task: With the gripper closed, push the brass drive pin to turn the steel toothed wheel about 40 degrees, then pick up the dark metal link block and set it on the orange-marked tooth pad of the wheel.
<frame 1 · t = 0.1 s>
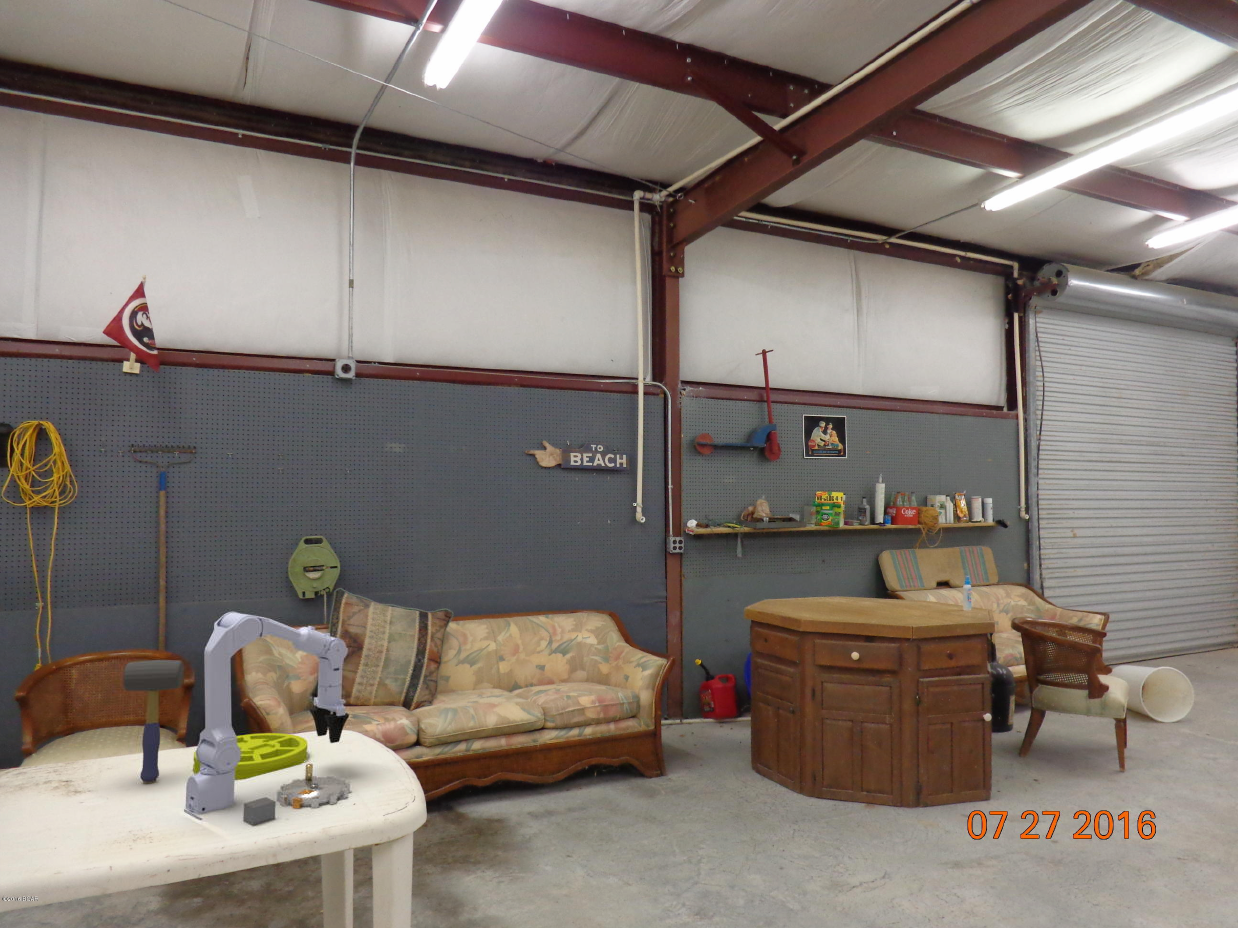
hand: (328, 738, 206), 10 cm above the table, tool pointing down, fingers open, 7 cm apart
link block: (258, 825, 176), on the table
rubber mallet: (149, 782, 201), on the table
wheel: (314, 783, 191), point 4 cm above the table, hinge at 0.0°
pulley: (251, 764, 218), on the table
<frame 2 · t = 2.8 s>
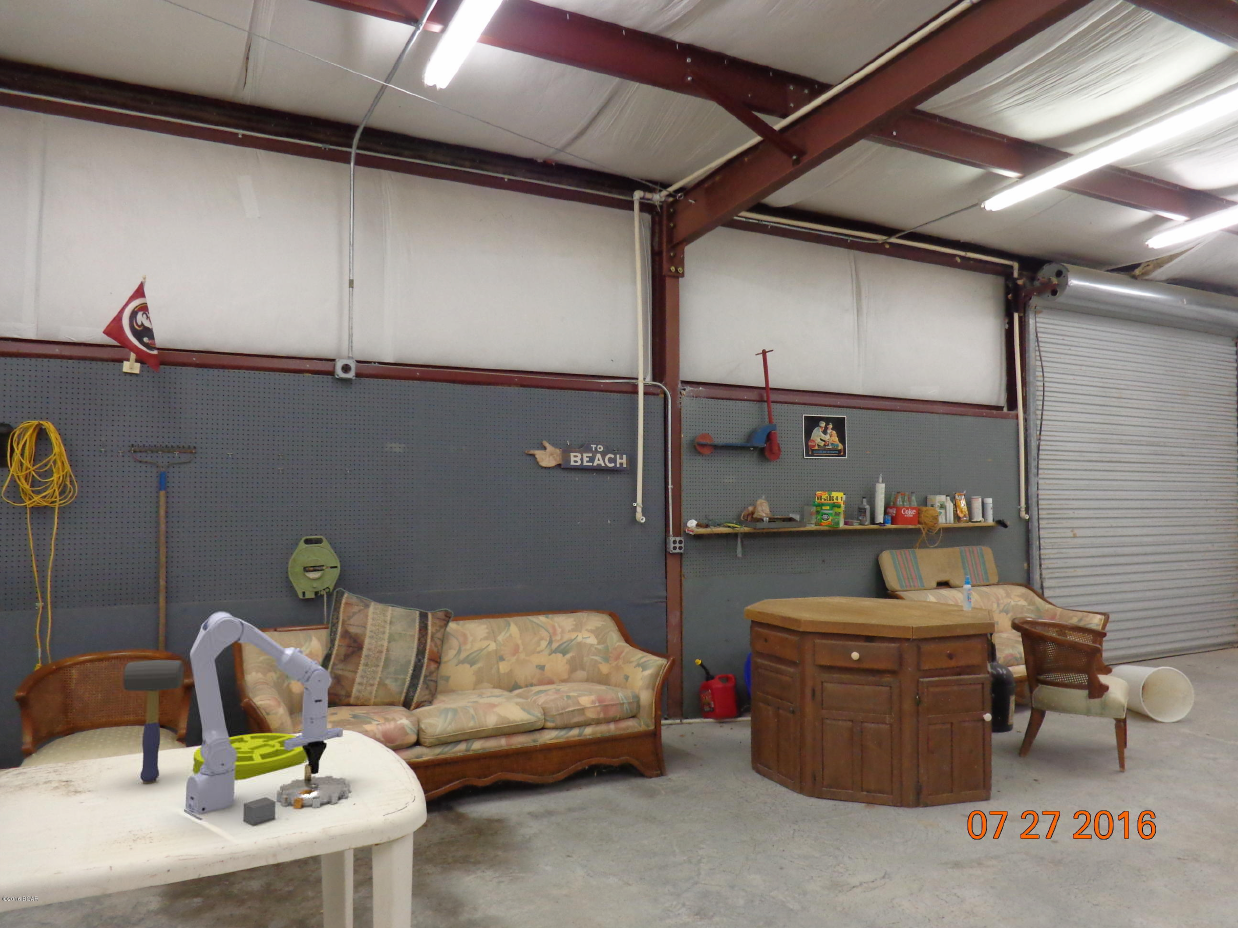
hand: (313, 772, 197), 4 cm above the table, tool pointing down, fingers closed, pressing on wheel
wheel: (314, 783, 191), point 4 cm above the table, hinge at 2.2°, touching gripper
everything else where it was.
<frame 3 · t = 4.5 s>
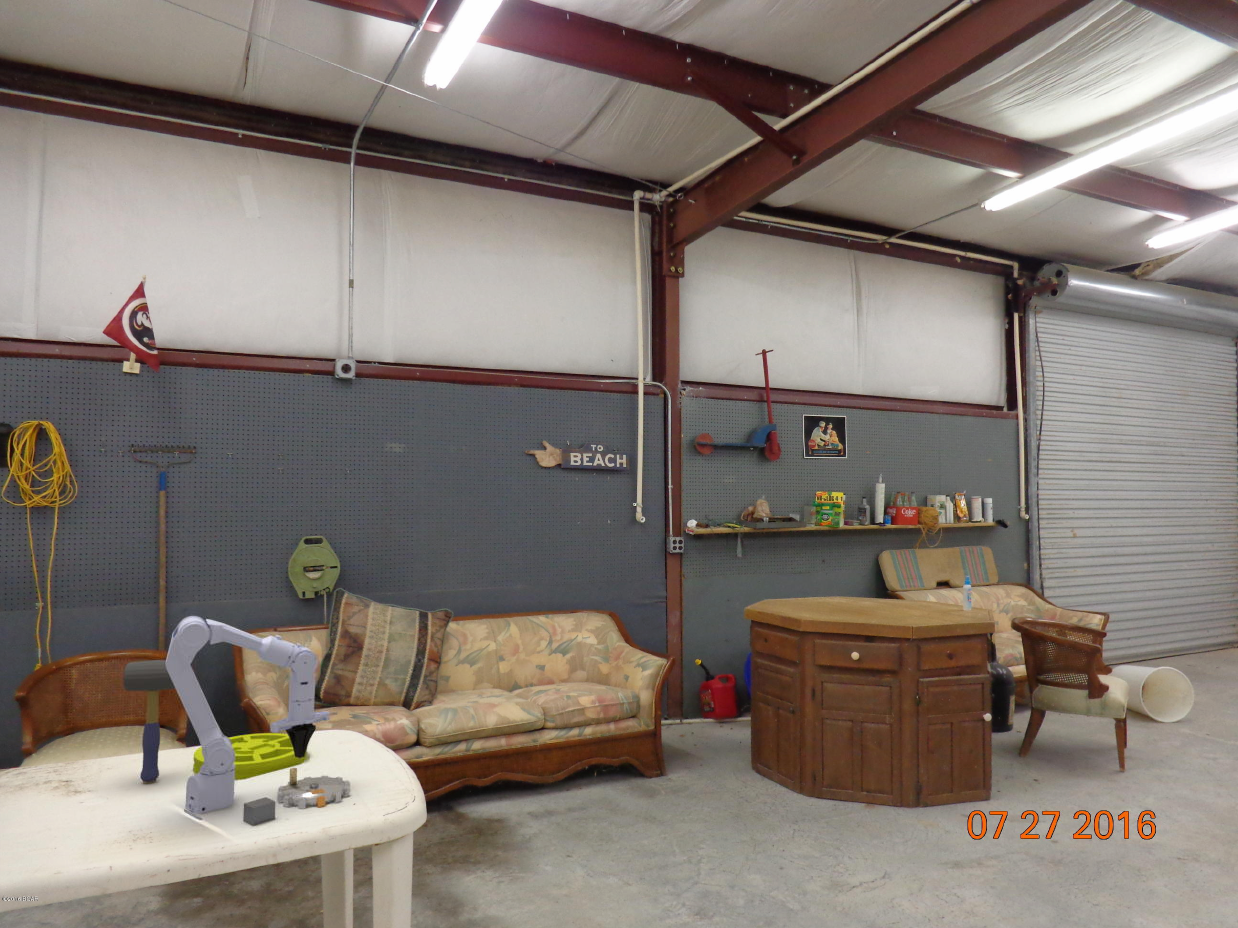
hand: (299, 756, 194), 9 cm above the table, tool pointing down, fingers closed
wheel: (314, 783, 191), point 4 cm above the table, hinge at 39.9°
everything else where it was.
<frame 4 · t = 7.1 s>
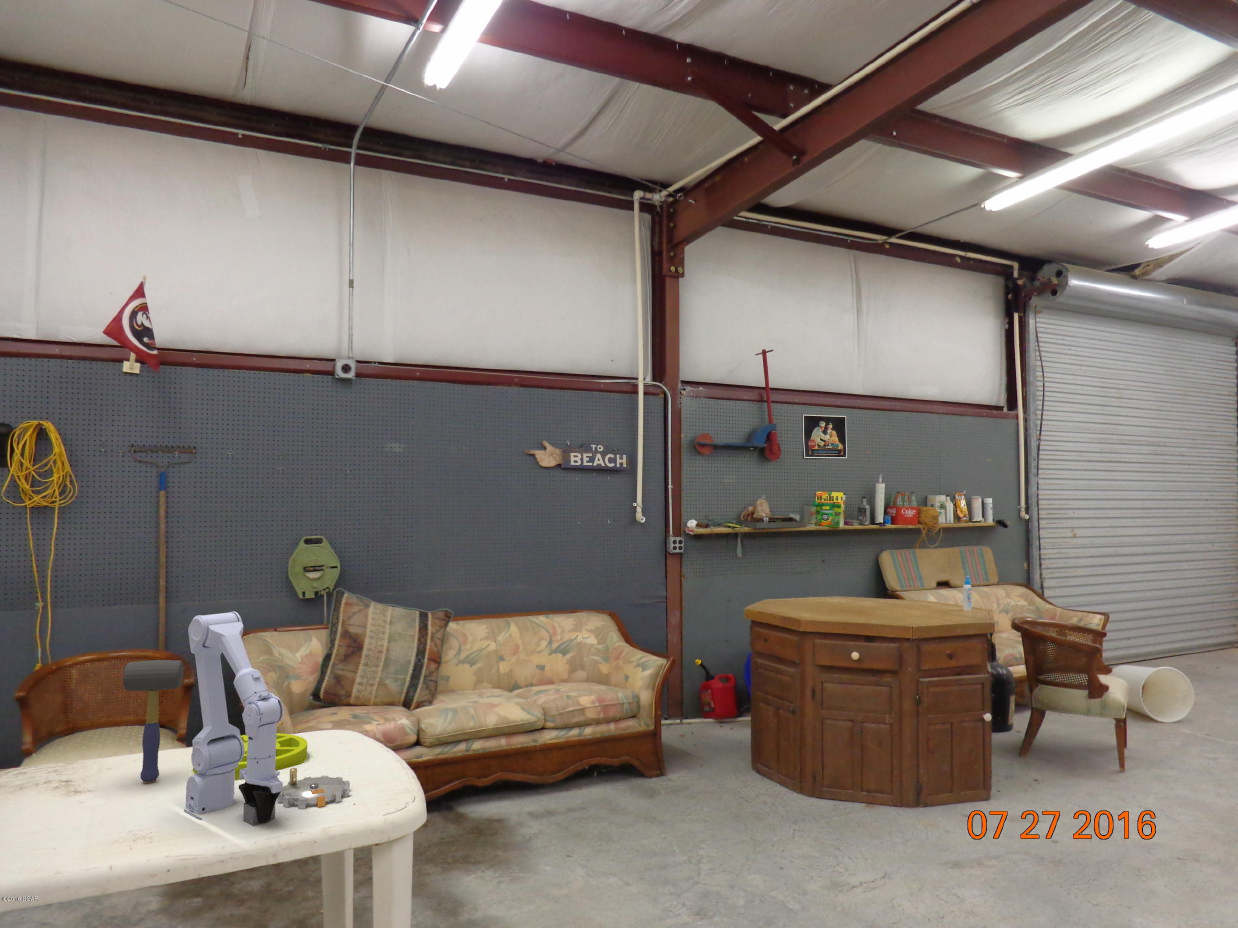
hand: (259, 818, 176), 1 cm above the table, tool pointing down, fingers closed on link block, 4 cm apart
link block: (258, 825, 176), on the table, touching gripper
everything else where it was.
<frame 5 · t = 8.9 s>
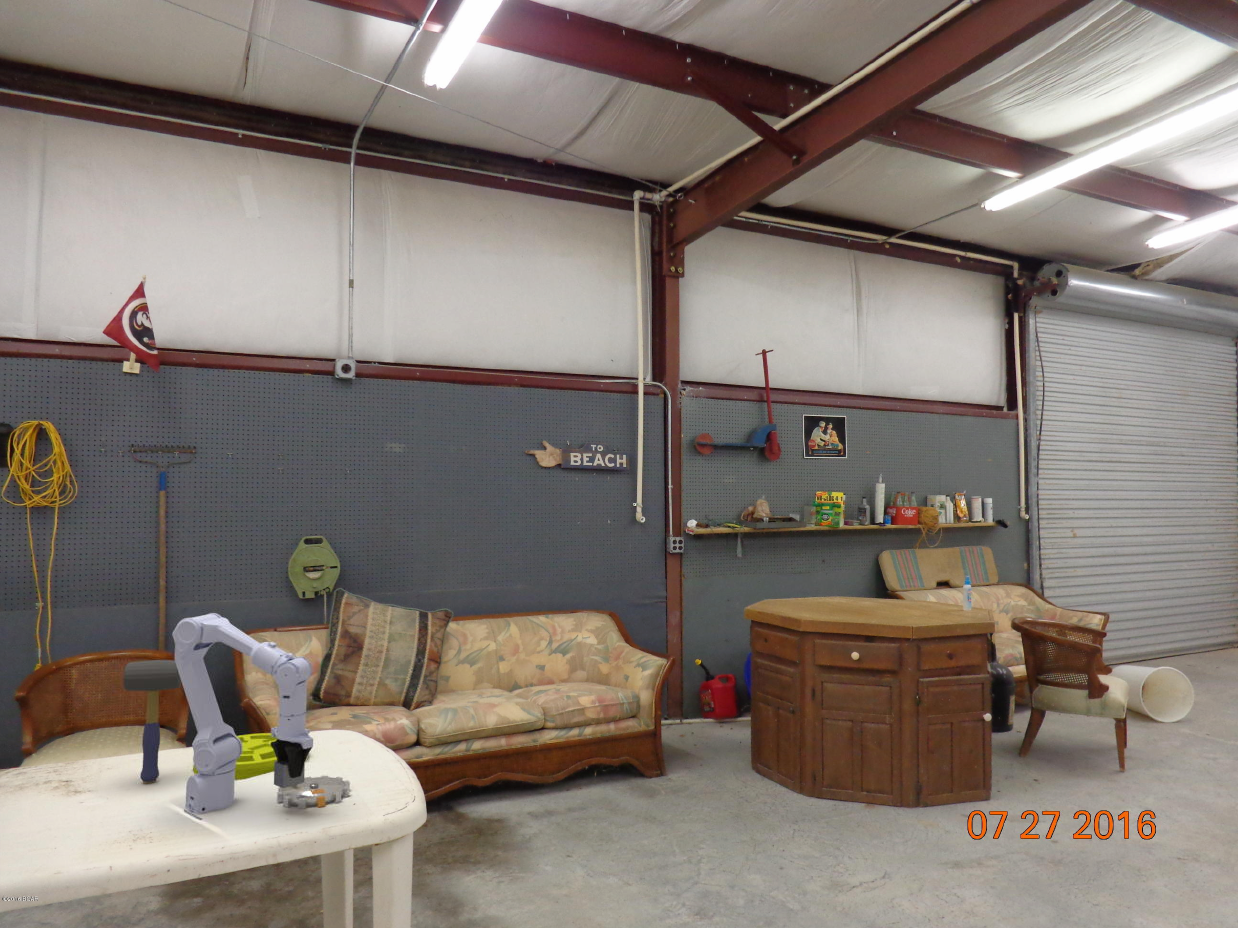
hand: (290, 774, 182), 9 cm above the table, tool pointing down, fingers closed on link block, 4 cm apart
link block: (289, 783, 182), point 7 cm above the table, touching gripper
everything else where it was.
when the fingers open (6 cm above the table, at t = 10.4 s): link block stays where it is, resting on wheel.
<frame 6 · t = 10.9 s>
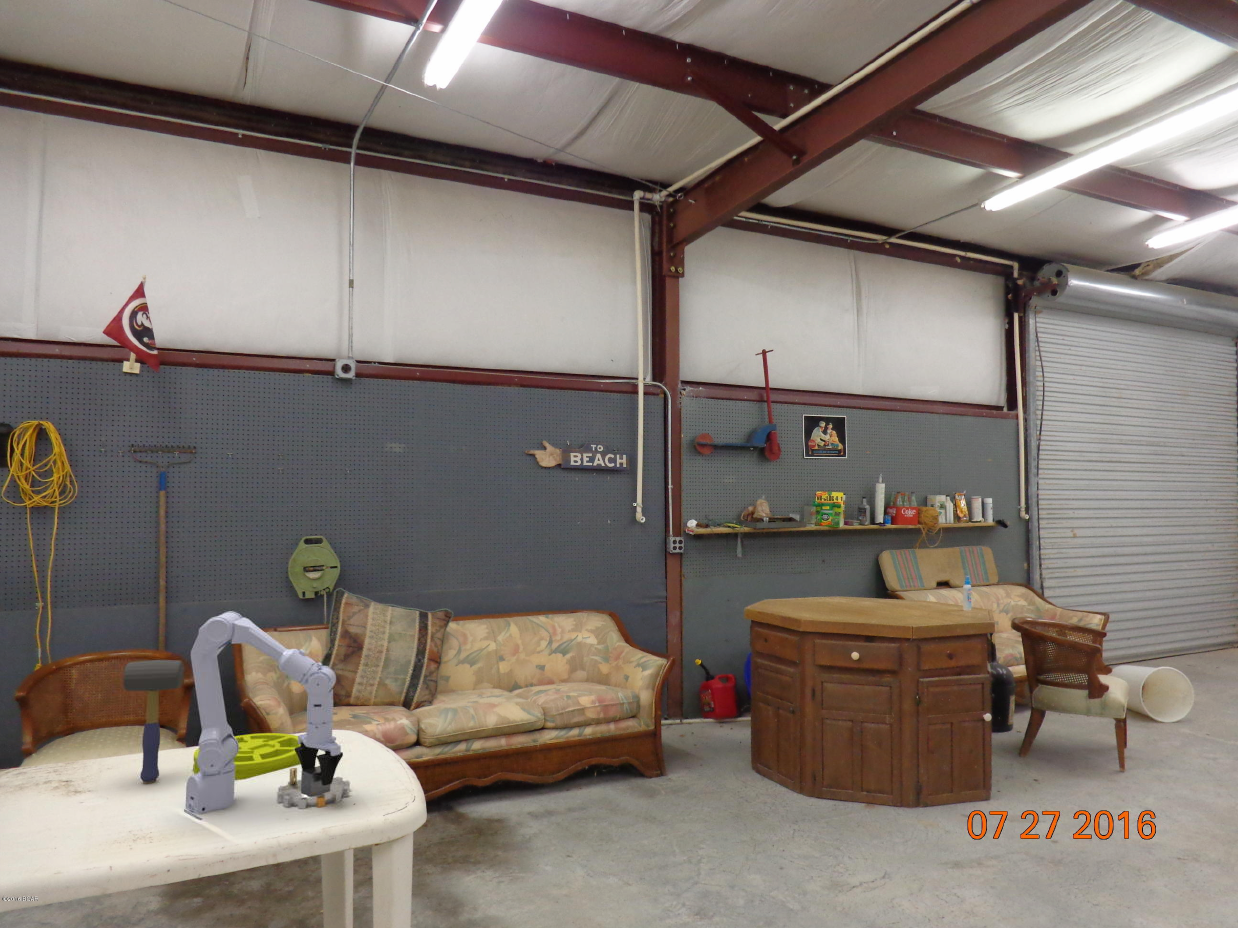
hand: (317, 780, 188), 6 cm above the table, tool pointing down, fingers open, 7 cm apart
link block: (315, 791, 187), point 3 cm above the table, touching wheel
wheel: (314, 783, 191), point 4 cm above the table, hinge at 39.9°, touching link block
everything else where it was.
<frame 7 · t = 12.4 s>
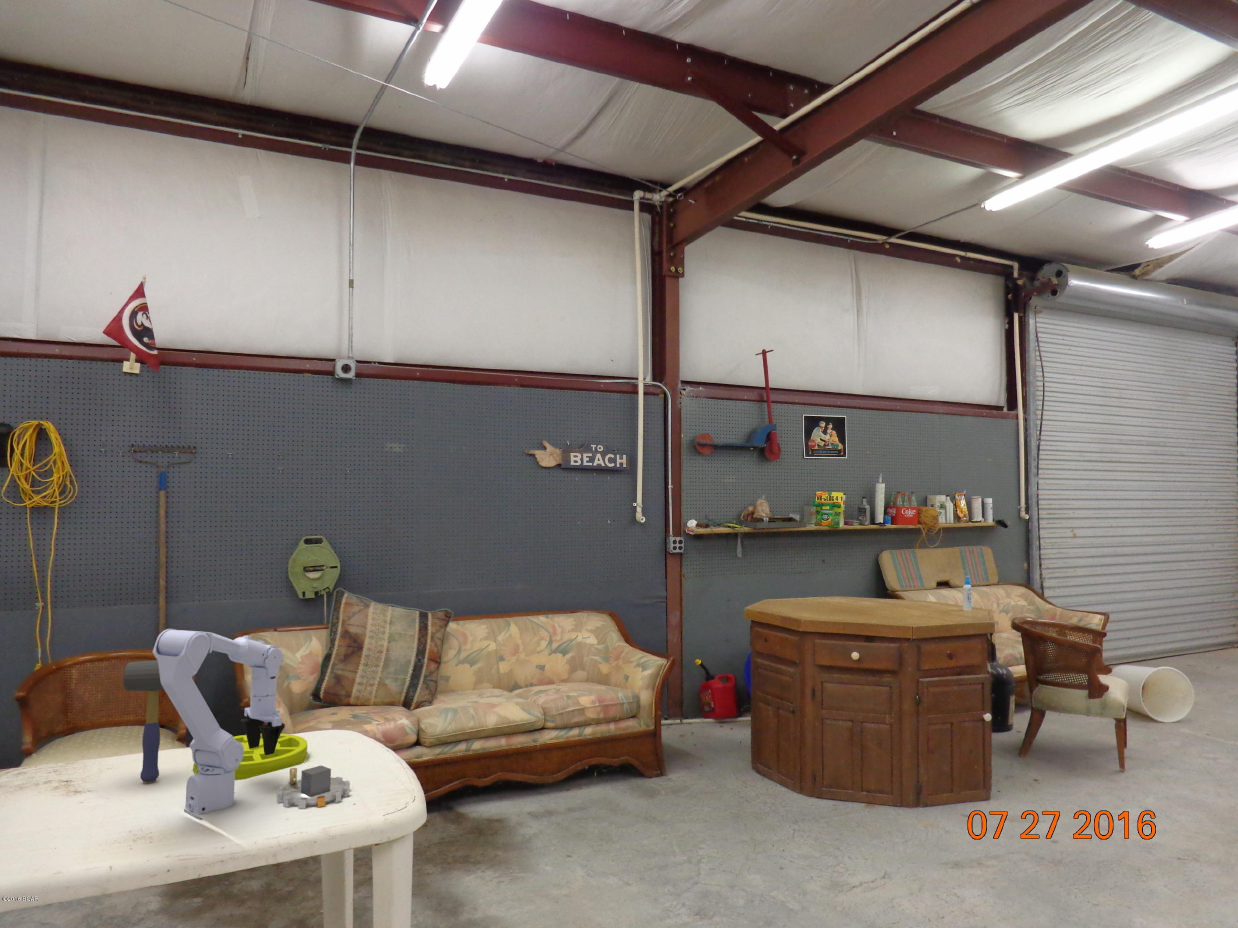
hand: (261, 750, 197), 9 cm above the table, tool pointing down, fingers open, 7 cm apart
nothing on the table moved.
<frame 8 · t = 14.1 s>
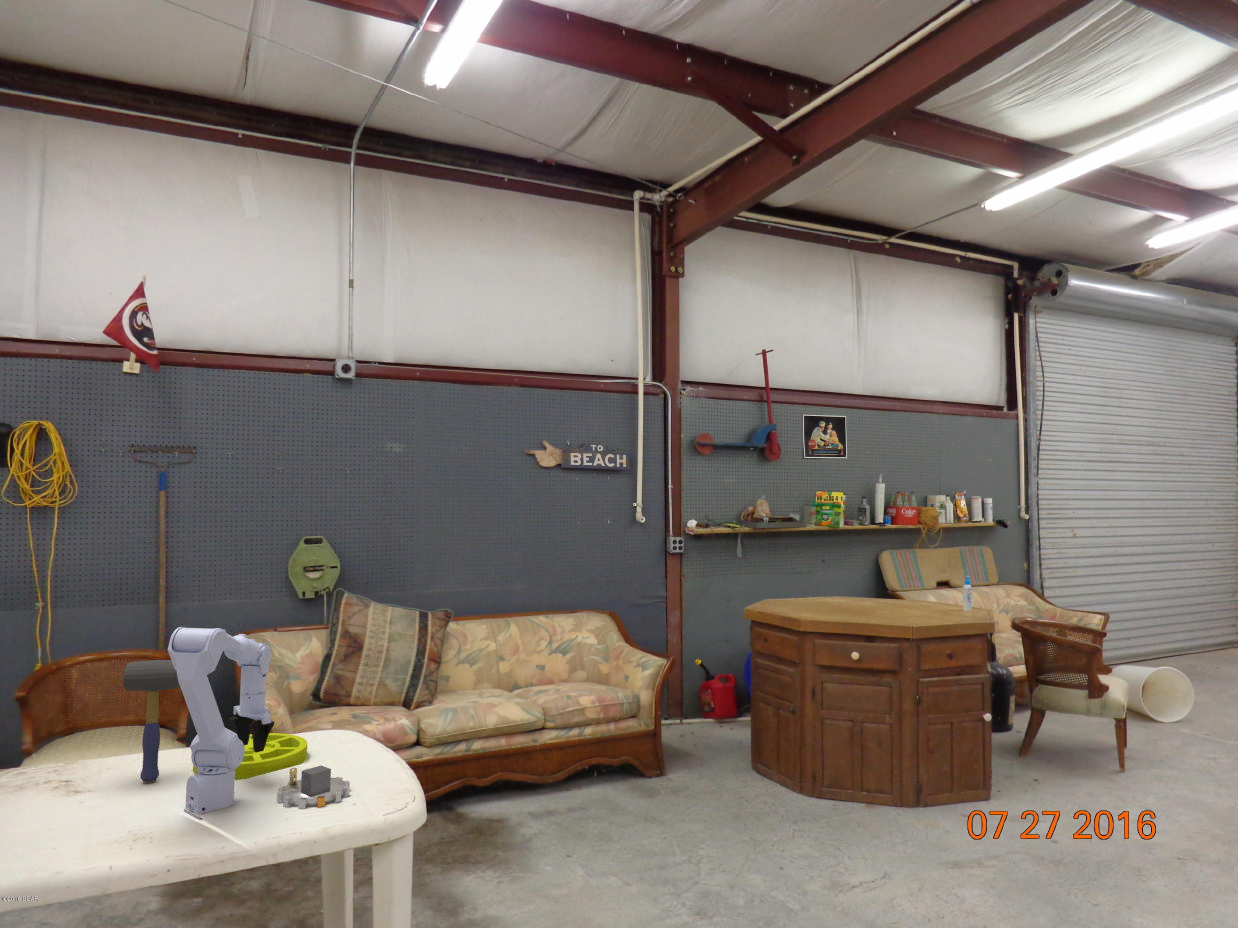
hand: (251, 748, 199), 9 cm above the table, tool pointing down, fingers open, 7 cm apart
nothing on the table moved.
at the end: wheel at +40° (first picture: +0°); link block 0.4 cm from the target spot on the wheel, point 2.1 cm above the wheel's base; link block tilted 0° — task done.
